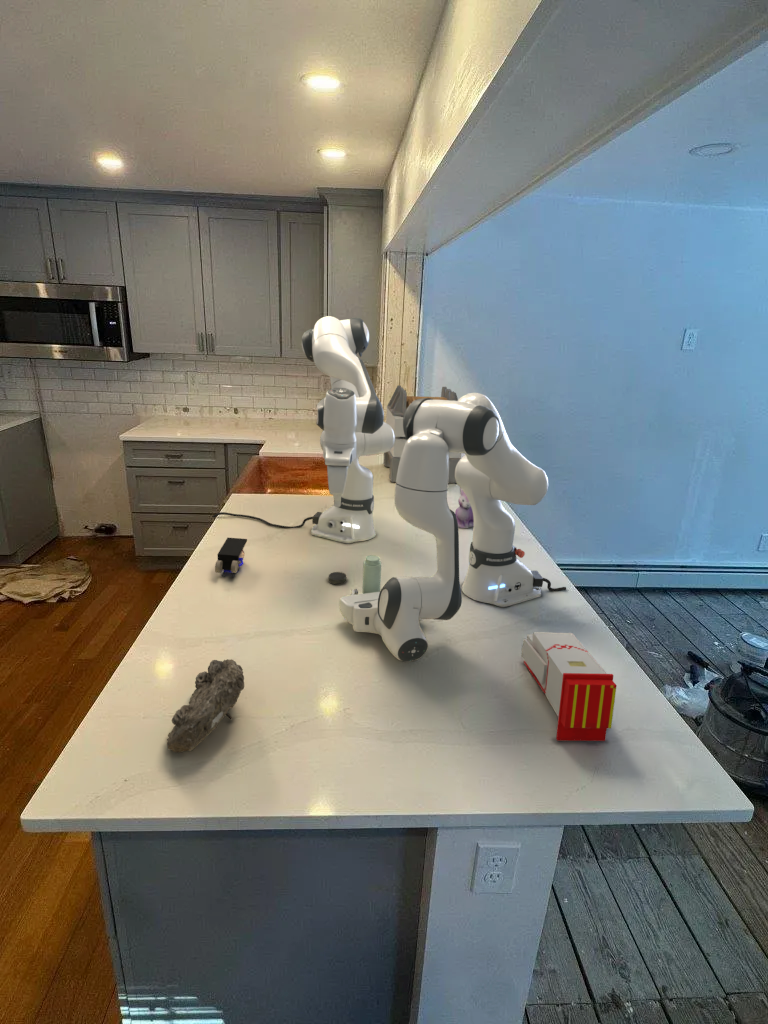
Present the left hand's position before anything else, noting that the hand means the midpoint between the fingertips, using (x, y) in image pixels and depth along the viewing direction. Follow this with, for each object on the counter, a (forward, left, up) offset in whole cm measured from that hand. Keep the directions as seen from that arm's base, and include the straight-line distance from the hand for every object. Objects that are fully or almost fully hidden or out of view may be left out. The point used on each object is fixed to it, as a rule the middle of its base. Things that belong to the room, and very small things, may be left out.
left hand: (338, 500), depth 156 cm
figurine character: (-31, -4, -25) cm, 40 cm away
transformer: (-3, +121, -25) cm, 124 cm away
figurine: (+28, +60, -25) cm, 71 cm away
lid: (0, 0, -23) cm, 23 cm away
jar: (+14, -12, -25) cm, 31 cm away
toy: (+61, -33, -25) cm, 74 cm away
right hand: (+13, -11, -20) cm, 26 cm away
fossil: (-2, -62, -25) cm, 67 cm away
